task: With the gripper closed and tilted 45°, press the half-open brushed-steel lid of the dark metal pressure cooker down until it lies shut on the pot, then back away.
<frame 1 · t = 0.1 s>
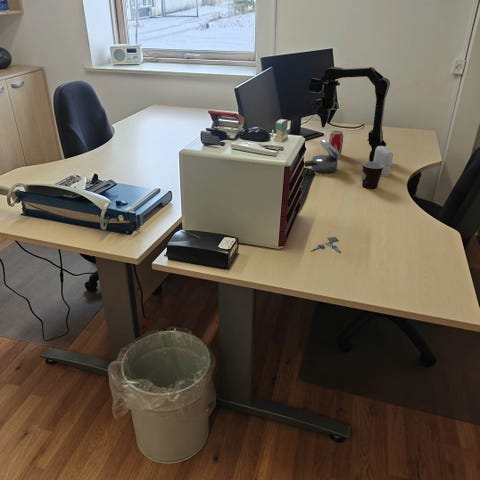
hand: (325, 125, 228), 15 cm above the table, tool pointing down, fingers open, 9 cm apart
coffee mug: (369, 185, 196), on the table
pressure cooker pot: (324, 169, 213), on the table
cooker lid: (331, 148, 209), point 10 cm above the table, hinge at 45.0°
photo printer: (380, 172, 210), on the table
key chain: (331, 248, 148), on the table
soda can: (334, 155, 233), on the table
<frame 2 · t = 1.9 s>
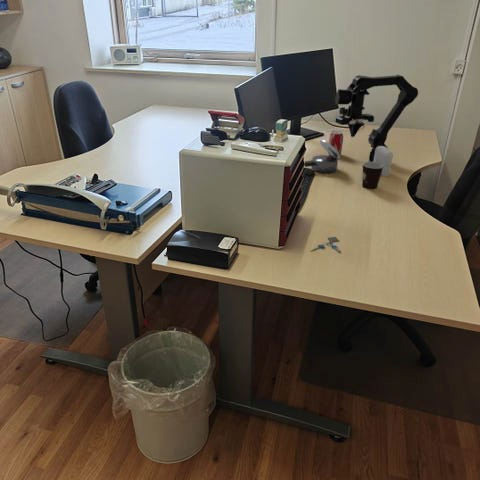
hand: (352, 136, 216), 13 cm above the table, tool pointing down, fingers closed
nothing on the table moved.
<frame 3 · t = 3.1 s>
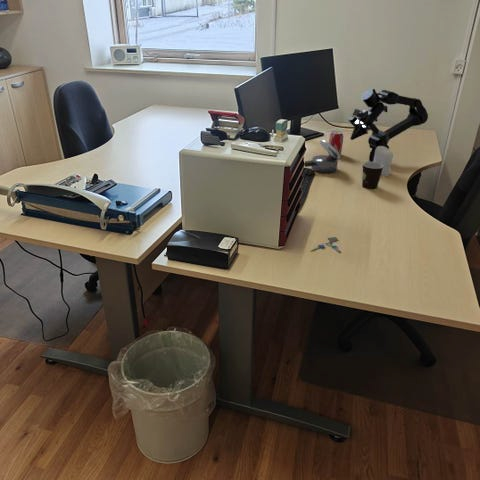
hand: (351, 139, 211), 13 cm above the table, tool tilted 45°, fingers closed
nothing on the table moved.
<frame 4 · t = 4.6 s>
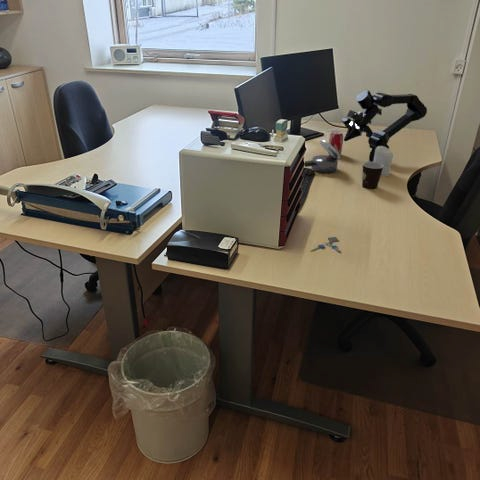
hand: (344, 140, 210), 13 cm above the table, tool tilted 45°, fingers closed
nothing on the table moved.
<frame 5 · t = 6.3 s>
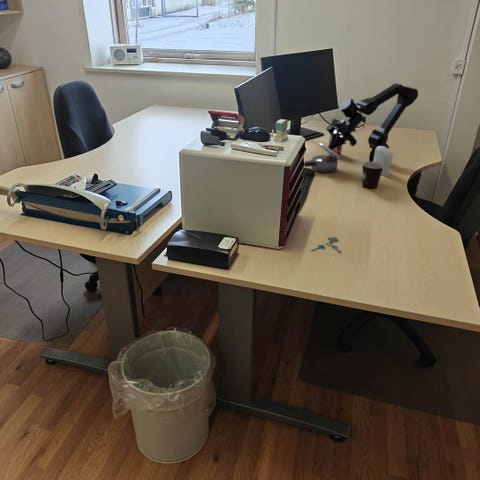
hand: (328, 149, 209), 10 cm above the table, tool tilted 45°, fingers closed, pressing on cooker lid
cooker lid: (329, 149, 209), point 9 cm above the table, hinge at 35.2°, touching gripper
everything else where it was.
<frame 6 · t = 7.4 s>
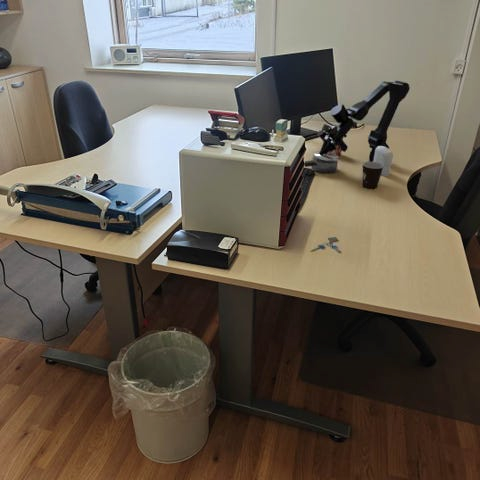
hand: (319, 154, 208), 8 cm above the table, tool tilted 45°, fingers closed, pressing on cooker lid
cooker lid: (326, 155, 210), point 7 cm above the table, hinge at 7.2°, touching gripper
everything else where it was.
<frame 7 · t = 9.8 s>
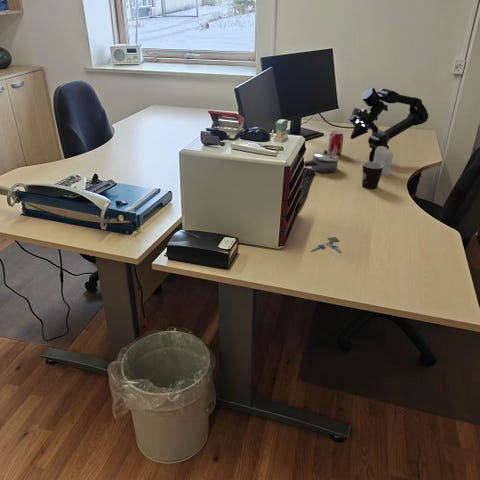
hand: (351, 138, 211), 14 cm above the table, tool tilted 40°, fingers closed
cooker lid: (326, 155, 210), point 7 cm above the table, hinge at 6.3°
everything else where it was.
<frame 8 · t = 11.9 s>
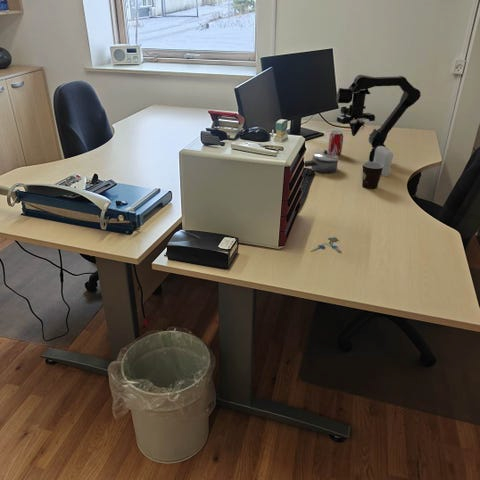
hand: (353, 135, 217), 13 cm above the table, tool pointing down, fingers closed
nothing on the table moved.
at the end: cooker lid at +6° (first picture: +45°) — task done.
